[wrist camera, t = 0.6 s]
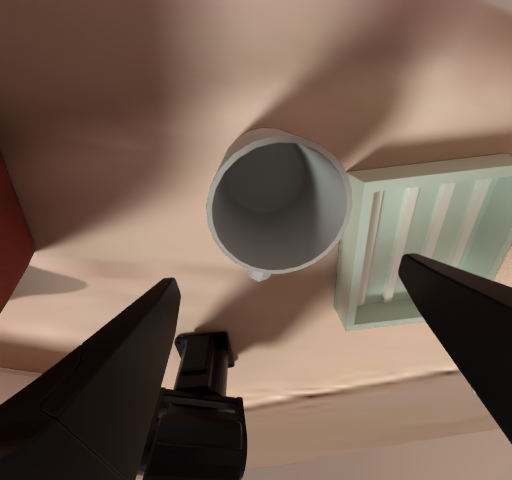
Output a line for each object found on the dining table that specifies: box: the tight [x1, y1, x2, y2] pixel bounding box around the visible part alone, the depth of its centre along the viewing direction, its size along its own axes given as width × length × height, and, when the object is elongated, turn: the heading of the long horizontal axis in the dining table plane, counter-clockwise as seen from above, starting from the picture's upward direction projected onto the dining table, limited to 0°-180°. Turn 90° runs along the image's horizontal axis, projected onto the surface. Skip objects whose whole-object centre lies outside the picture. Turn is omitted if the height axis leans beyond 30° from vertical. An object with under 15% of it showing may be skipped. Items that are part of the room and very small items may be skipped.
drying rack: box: [334, 153, 512, 331], centre depth 21 cm, size 16×14×4 cm
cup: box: [206, 128, 352, 282], centre depth 16 cm, size 7×10×9 cm
